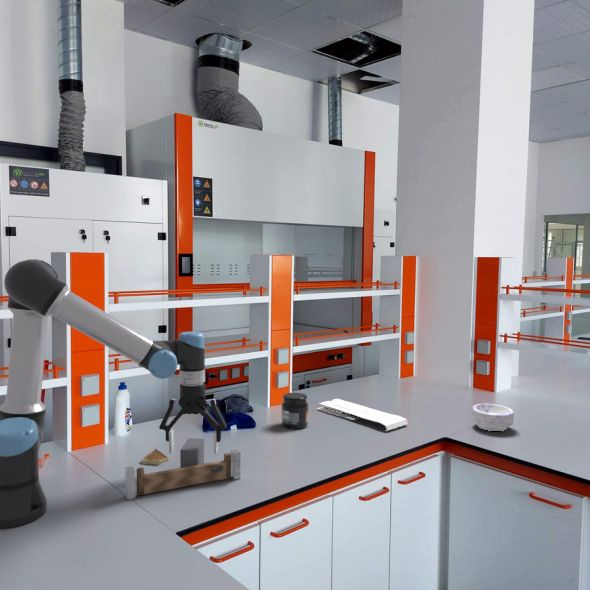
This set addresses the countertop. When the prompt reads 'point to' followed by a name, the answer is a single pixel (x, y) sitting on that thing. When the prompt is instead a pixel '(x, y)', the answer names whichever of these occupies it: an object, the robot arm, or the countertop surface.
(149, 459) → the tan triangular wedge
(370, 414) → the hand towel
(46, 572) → the countertop surface
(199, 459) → the rubber block
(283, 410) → the supplement container
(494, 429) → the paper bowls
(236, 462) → the grey blocks
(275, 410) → the countertop surface
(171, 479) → the gate
